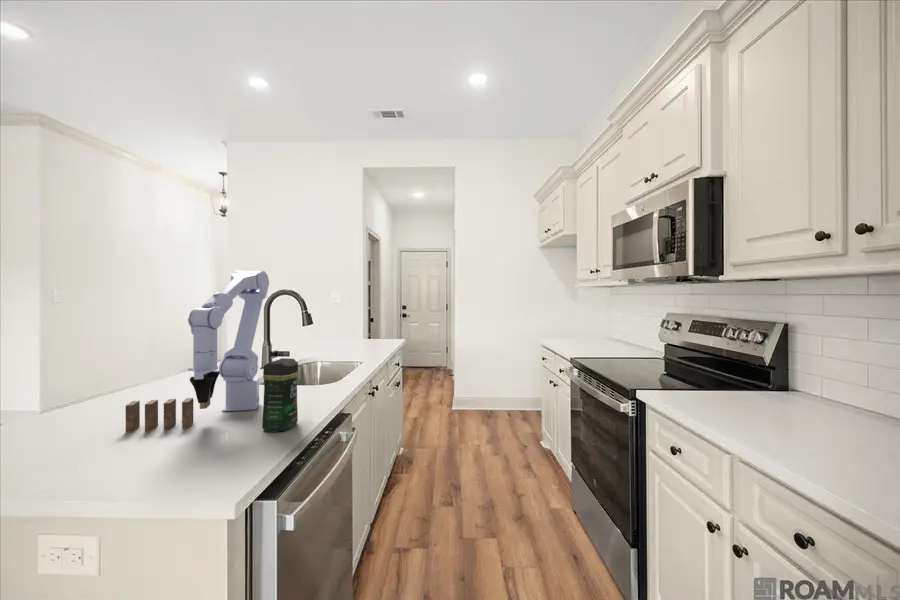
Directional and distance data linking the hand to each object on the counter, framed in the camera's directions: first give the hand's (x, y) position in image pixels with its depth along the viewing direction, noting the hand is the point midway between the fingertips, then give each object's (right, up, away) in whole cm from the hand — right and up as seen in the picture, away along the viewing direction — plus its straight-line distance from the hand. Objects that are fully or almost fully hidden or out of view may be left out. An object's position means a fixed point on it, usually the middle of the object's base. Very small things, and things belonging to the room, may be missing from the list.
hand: (205, 400), depth 117 cm
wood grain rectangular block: (-16, -7, -5) cm, 18 cm away
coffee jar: (+21, -7, -1) cm, 23 cm away
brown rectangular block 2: (-8, -7, -2) cm, 11 cm away
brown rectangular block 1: (-12, -7, -4) cm, 14 cm away
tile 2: (-4, -7, -1) cm, 8 cm away
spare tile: (0, -2, 0) cm, 2 cm away
